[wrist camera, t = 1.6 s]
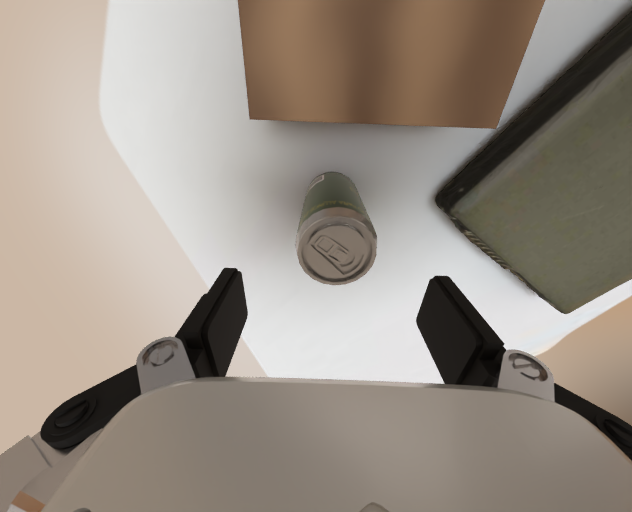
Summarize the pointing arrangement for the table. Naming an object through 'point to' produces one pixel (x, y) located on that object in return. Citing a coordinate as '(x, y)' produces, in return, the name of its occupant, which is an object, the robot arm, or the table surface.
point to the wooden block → (384, 59)
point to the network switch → (560, 183)
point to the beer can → (335, 232)
